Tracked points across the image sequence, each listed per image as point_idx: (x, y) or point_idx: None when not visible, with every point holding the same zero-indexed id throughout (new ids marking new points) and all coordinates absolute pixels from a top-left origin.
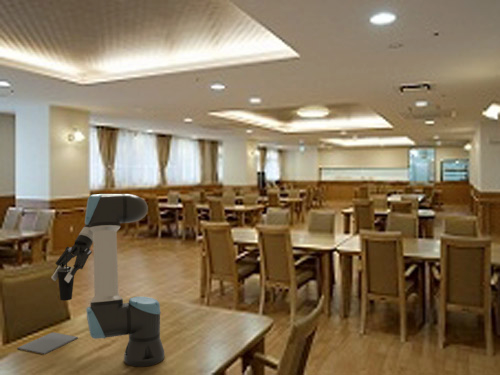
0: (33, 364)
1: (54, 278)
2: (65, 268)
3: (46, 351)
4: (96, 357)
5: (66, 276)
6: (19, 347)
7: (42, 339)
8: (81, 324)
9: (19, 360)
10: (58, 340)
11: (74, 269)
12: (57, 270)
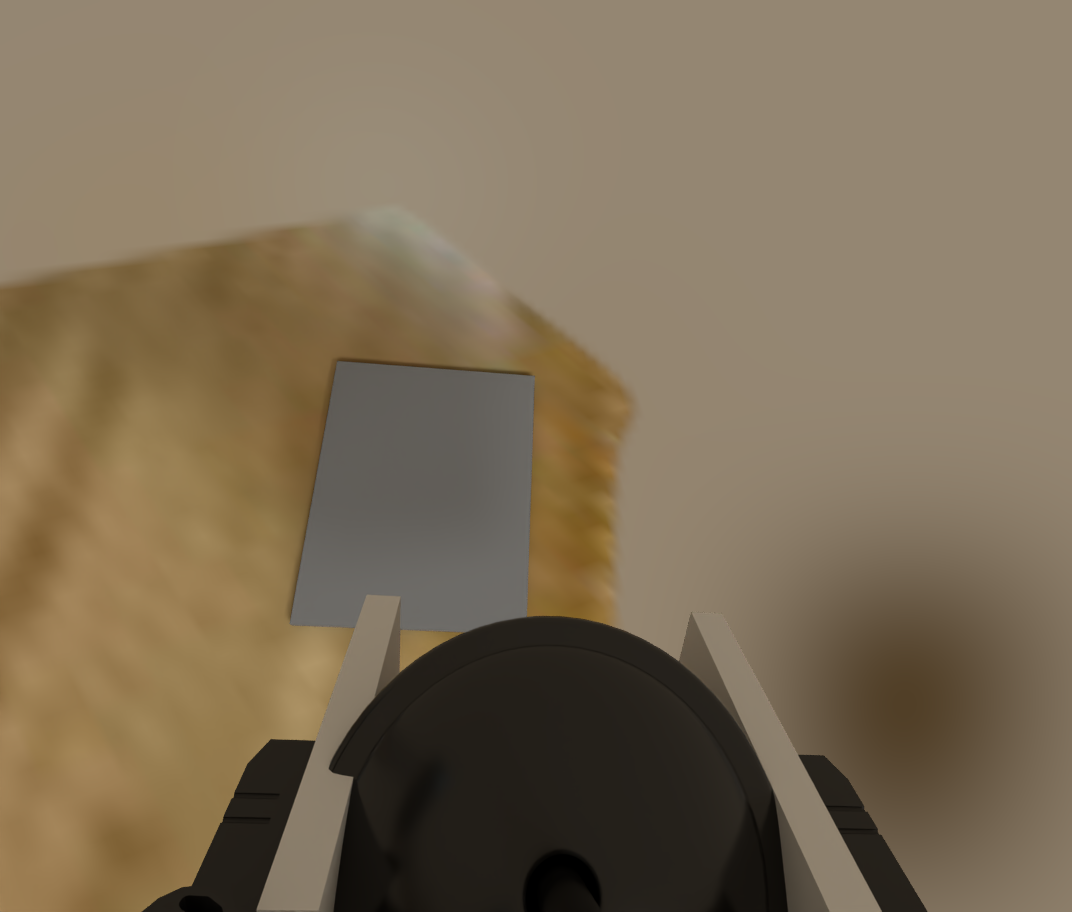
0: (314, 271)
1: (687, 668)
2: (482, 752)
3: (340, 379)
4: (5, 417)
5: (371, 637)
6: (526, 378)
7: (493, 506)
8: None
9: (415, 286)
10: (381, 527)
11: (216, 875)
12: (660, 650)
